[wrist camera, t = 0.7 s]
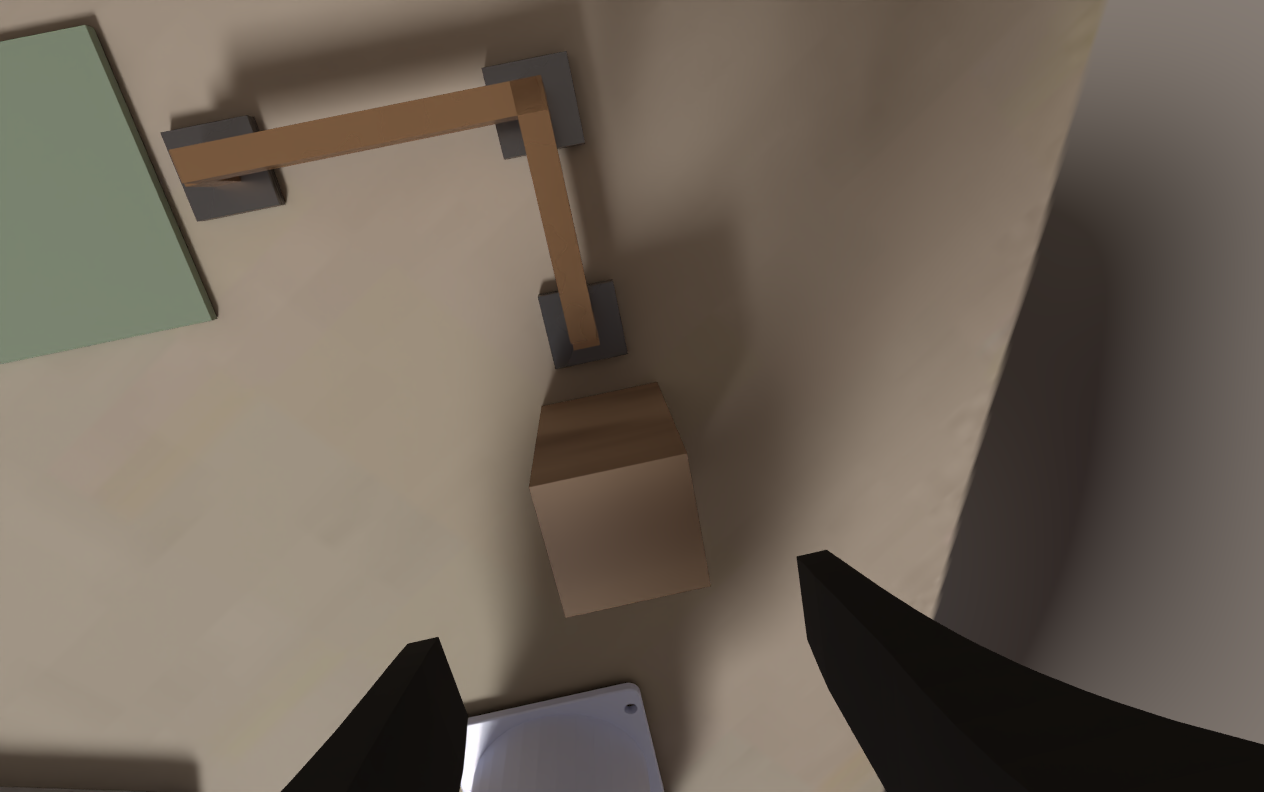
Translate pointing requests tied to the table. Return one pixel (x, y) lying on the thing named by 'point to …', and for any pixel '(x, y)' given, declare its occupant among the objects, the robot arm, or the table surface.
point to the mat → (81, 208)
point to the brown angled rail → (512, 99)
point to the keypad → (52, 790)
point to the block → (616, 501)
